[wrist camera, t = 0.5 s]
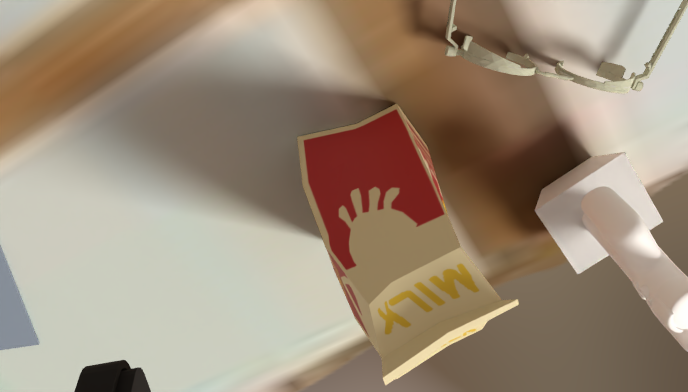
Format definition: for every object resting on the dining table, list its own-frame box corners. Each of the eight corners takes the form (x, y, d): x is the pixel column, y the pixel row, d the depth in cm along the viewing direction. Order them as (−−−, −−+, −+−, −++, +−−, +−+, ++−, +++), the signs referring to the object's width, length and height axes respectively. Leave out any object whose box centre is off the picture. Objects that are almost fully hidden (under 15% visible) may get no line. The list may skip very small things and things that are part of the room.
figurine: (594, 120, 48) (721, 225, 35) (643, 207, 52) (774, 329, 39) (509, 177, 49) (602, 298, 36) (564, 257, 54) (664, 391, 40)
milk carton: (330, 242, 50) (371, 456, 33) (290, 137, 46) (313, 320, 28) (444, 205, 50) (546, 401, 32) (415, 96, 45) (516, 255, 28)
